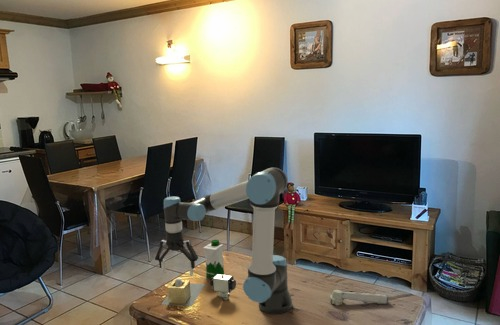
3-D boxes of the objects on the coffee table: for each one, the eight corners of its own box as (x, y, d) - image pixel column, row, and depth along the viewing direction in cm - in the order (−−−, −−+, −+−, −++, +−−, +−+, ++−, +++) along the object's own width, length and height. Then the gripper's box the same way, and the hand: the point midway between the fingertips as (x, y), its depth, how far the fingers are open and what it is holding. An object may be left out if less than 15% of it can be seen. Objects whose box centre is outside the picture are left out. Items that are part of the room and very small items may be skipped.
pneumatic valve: (233, 302, 187) (231, 278, 185) (210, 299, 191) (209, 275, 189) (238, 297, 192) (236, 273, 190) (216, 293, 196) (214, 270, 194)
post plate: (205, 286, 204) (203, 264, 203) (192, 308, 183) (190, 284, 181) (177, 285, 207) (175, 263, 205) (161, 307, 186) (158, 283, 184)
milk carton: (226, 276, 215) (224, 240, 212) (217, 283, 208) (214, 246, 205) (213, 273, 220) (210, 238, 217) (203, 280, 212) (200, 244, 209)
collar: (190, 296, 192) (189, 280, 191) (185, 304, 184) (184, 288, 183) (174, 295, 193) (173, 279, 192) (168, 303, 186) (167, 287, 184)
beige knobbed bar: (389, 298, 176) (331, 290, 178) (387, 312, 177) (330, 304, 179) (386, 292, 182) (330, 285, 184) (384, 306, 183) (328, 299, 185)
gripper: (202, 228, 185) (205, 271, 188) (151, 227, 190) (155, 270, 193) (198, 233, 178) (201, 278, 181) (145, 233, 182) (149, 277, 185)
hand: (177, 274), depth 187 cm, fingers open, 13 cm apart
